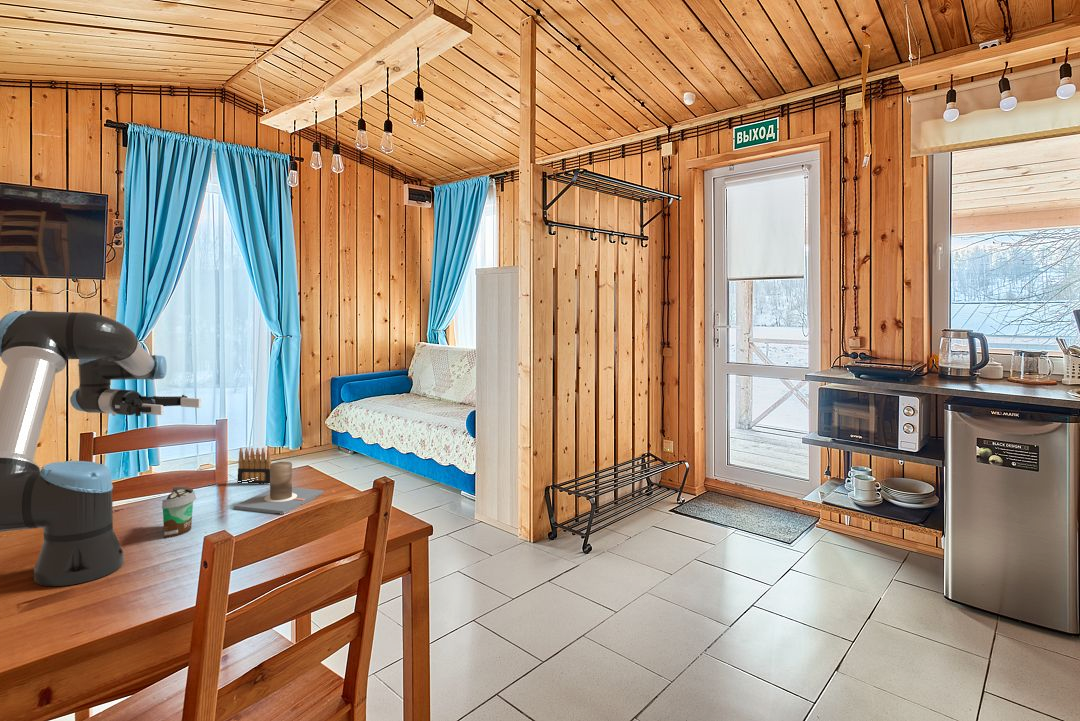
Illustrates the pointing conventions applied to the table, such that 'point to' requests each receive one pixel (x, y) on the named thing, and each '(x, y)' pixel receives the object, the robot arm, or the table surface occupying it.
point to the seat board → (278, 501)
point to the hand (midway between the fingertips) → (181, 406)
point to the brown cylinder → (280, 480)
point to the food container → (178, 511)
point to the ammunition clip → (254, 466)
